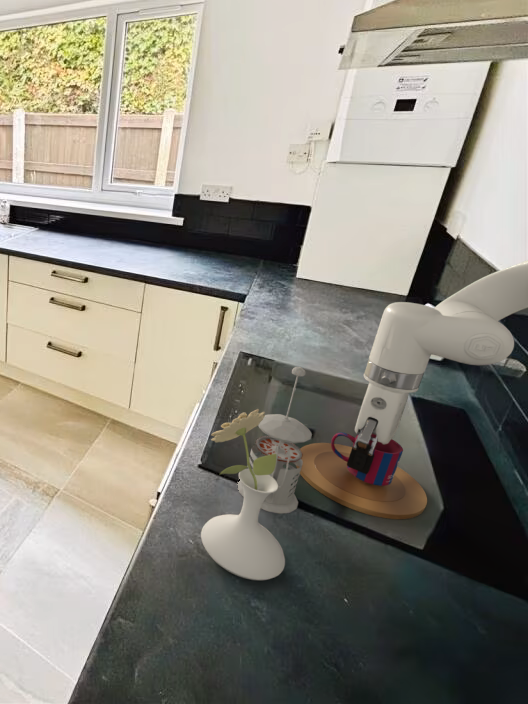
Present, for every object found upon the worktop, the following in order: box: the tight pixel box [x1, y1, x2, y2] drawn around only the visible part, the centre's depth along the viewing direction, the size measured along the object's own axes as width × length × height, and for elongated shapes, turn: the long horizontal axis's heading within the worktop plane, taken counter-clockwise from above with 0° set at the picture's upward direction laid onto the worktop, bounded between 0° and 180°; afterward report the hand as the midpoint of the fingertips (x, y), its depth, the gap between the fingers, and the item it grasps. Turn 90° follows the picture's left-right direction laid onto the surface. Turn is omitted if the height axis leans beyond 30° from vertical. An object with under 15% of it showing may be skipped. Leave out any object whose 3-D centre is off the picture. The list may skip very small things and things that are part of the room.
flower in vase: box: [200, 408, 286, 581], centre depth 65 cm, size 13×11×25 cm
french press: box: [236, 366, 313, 514], centre depth 76 cm, size 10×12×25 cm
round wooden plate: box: [295, 442, 428, 520], centre depth 85 cm, size 20×20×1 cm
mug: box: [330, 431, 404, 486], centre depth 84 cm, size 7×10×7 cm
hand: (363, 460), depth 84 cm, fingers closed on mug, 6 cm apart
